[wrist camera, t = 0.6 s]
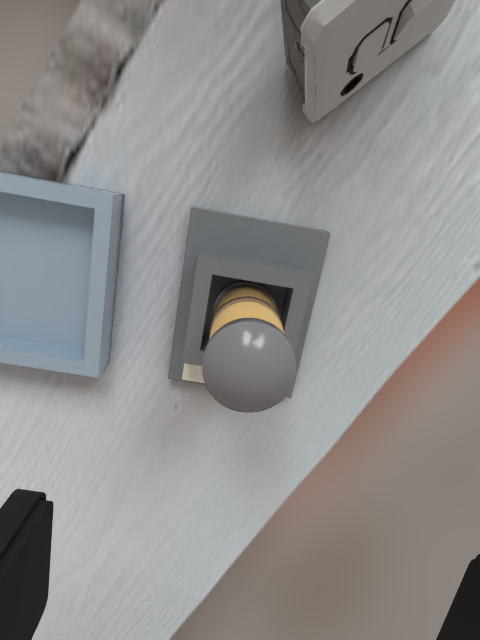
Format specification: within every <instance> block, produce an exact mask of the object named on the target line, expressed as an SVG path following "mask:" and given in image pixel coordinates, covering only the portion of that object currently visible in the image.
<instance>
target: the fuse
mask: <svg viewBox="0 0 480 640" xmlns="http://www.w3.org/2000/svg"><path fill="white" fill-rule="evenodd" d="M202 374H203V380H204V383H205V385H206V387H207V389H208V391H209V393H210V394H211V395H212V396H213V397H214V399H215V400H217V401H218V402H219V403H220V404H222V405H223V406H225V407H227V408H229V409H232V410H235V411H239V412H259V411H263V410H266V409H268V408H271V407H273V406H274V405H276V404H278V403H279V402H280V401H281V400H283V399H284V398H285V397H286V395H287V394H288V393H289V391H290V390H291V388H292V386H293V384H294V381H295V378H296V360H295V356H294V353H293V350H292V348H291V345H290V343H289V340H288V339H287V337H286V336H285V334H284V329H283V325H282V322H281V320H280V317H279V315H278V313H277V306H276V303H275V300H274V298H273V295H272V294H271V292H270V291H269V290H268V289H267V288H266V287H265V286H264V285H263V284H261V283H259V282H253V281H247V280H242V279H241V280H236V281H233V282H231V283H229V284H227V285H226V286H225V287H224V288H223V289H222V290H221V291H220V292H219V294H218V295H217V297H216V300H215V304H214V309H213V320H212V324H211V328H210V339H209V342H208V344H207V346H206V350H205V354H204V359H203V365H202Z"/></svg>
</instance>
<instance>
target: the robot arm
mask: <svg viewBox="0 0 480 640" xmlns="http://www.w3.org/2000/svg"><path fill="white" fill-rule="evenodd" d="M52 520H53V502H52V501H46V494H45V493H43V492H36V491H29V490H22V489H16V490H15V491H14V492H13V493H12V494H11V495H10V497H9V498H8V499H7V501H6V502H5V503H4V505H3V506H2V507H1V508H0V640H31V639H32V637H33V635H34V632H35V630H36V628H37V626H38V624H39V622H40V619H41V617H42V615H43V612H44V609H45V606H46V603H47V598H48V588H49V571H50V554H51V537H52ZM436 640H480V554H479V555H478V556H477V557H476V559H473V560H471V562H470V564H469V565H468V568H467V570H466V572H465V575H464V577H463V579H462V582H461V584H460V586H459V589H458V591H457V593H456V595H455V598H454V600H453V602H452V605H451V607H450V609H449V612H448V614H447V616H446V618H445V621H444V623H443V625H442V628H441V630H440V632H439V635H438V637H437V639H436Z"/></svg>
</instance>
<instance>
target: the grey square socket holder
mask: <svg viewBox="0 0 480 640" xmlns="http://www.w3.org/2000/svg"><path fill="white" fill-rule="evenodd" d="M329 236H330V232H327V231H322V230H317V229H311V228H306V227H300V226H295V225H289V224H284V223H278V222H273V221H267V220H262V219H256V218H251V217H246V216H240V215H235V214H229V213H224V212H218V211H213V210H207V209H202V208H196V207H192V209H191V216H190V223H189V230H188V238H187V245H186V252H185V259H184V266H183V274H182V281H181V288H180V295H179V303H178V310H177V317H176V324H175V332H174V339H173V346H172V353H171V360H170V368H169V375H168V379H173V380H179V381H186V382H192V383H199V384H205V383H204V380H203V374H202V365H203V359H204V354H205V350H206V346H207V344H208V342H209V339H210V328H211V324H212V320H213V309H214V304H215V300H216V297H217V295H218V294H219V292H220V291H221V290H222V289H223V288H224V287H225V286H226V285H227V284H229V283H231V282H233V281H236V280H241V279H242V280H247V281H253V282H259V283H261V284H263V285H264V286H265V287H266V288H267V289H268V290H269V291H270V292H271V294H272V295H273V298H274V300H275V303H276V306H277V313H278V315H279V317H280V320H281V322H282V325H283V329H284V334H285V336H286V337H287V339H288V340H289V343H290V345H291V348H292V350H293V353H294V356H295V360H296V375H297V370H298V366H299V362H300V358H301V354H302V349H303V345H304V341H305V337H306V333H307V328H308V324H309V320H310V316H311V312H312V308H313V303H314V299H315V295H316V291H317V287H318V282H319V278H320V274H321V270H322V266H323V261H324V257H325V253H326V249H327V245H328V241H329ZM295 379H296V378H295ZM294 383H295V381H294ZM293 387H294V384H293V386H292V388H291V390H290V391H289V393H288V394H287V395H286V397H288V398H291V395H292V391H293Z"/></svg>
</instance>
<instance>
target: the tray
mask: <svg viewBox="0 0 480 640" xmlns="http://www.w3.org/2000/svg"><path fill="white" fill-rule="evenodd" d="M123 203H124V194H120V193H115V192H109V191H104V190H98V189H93V188H87V187H82V186H76V185H71V184H66V183H60V182H55V181H49V180H44V179H38V178H33V177H27V176H22V175H16V174H11V173H6V172H0V363H5V364H11V365H18V366H24V367H31V368H37V369H44V370H50V371H56V372H63V373H69V374H76V375H82V376H89V377H95V378H98V377H99V376H100V374H101V373H102V372H103V370H104V369H105V368H106V366H107V365H108V364H109V357H110V346H111V335H112V324H113V313H114V302H115V291H116V280H117V269H118V258H119V247H120V236H121V225H122V214H123Z"/></svg>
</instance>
